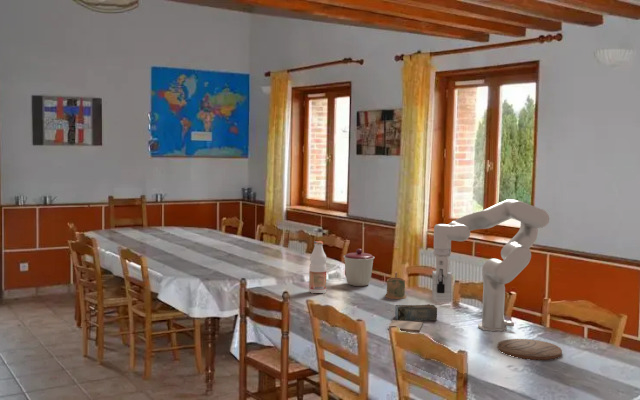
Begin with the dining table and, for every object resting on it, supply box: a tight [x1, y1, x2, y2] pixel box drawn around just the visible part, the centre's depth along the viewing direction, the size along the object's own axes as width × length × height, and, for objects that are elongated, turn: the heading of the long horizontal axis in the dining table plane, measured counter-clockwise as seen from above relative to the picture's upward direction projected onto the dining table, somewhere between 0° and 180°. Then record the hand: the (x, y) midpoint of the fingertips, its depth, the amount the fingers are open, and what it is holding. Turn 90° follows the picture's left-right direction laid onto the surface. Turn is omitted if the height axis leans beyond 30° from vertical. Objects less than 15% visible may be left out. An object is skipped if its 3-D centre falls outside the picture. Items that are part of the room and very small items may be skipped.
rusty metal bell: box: [384, 271, 407, 300], centre depth 389 cm, size 12×18×12 cm, turn 174°
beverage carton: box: [394, 304, 438, 321], centre depth 340 cm, size 8×19×7 cm, turn 94°
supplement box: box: [431, 270, 453, 303], centre depth 318 cm, size 7×7×13 cm
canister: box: [343, 248, 375, 287], centre depth 416 cm, size 18×18×21 cm
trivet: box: [497, 338, 563, 361], centre depth 290 cm, size 25×25×2 cm
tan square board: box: [387, 319, 424, 333], centre depth 323 cm, size 14×14×1 cm
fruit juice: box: [308, 240, 327, 294], centre depth 392 cm, size 9×9×28 cm
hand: (441, 290), depth 318 cm, fingers closed on supplement box, 8 cm apart
